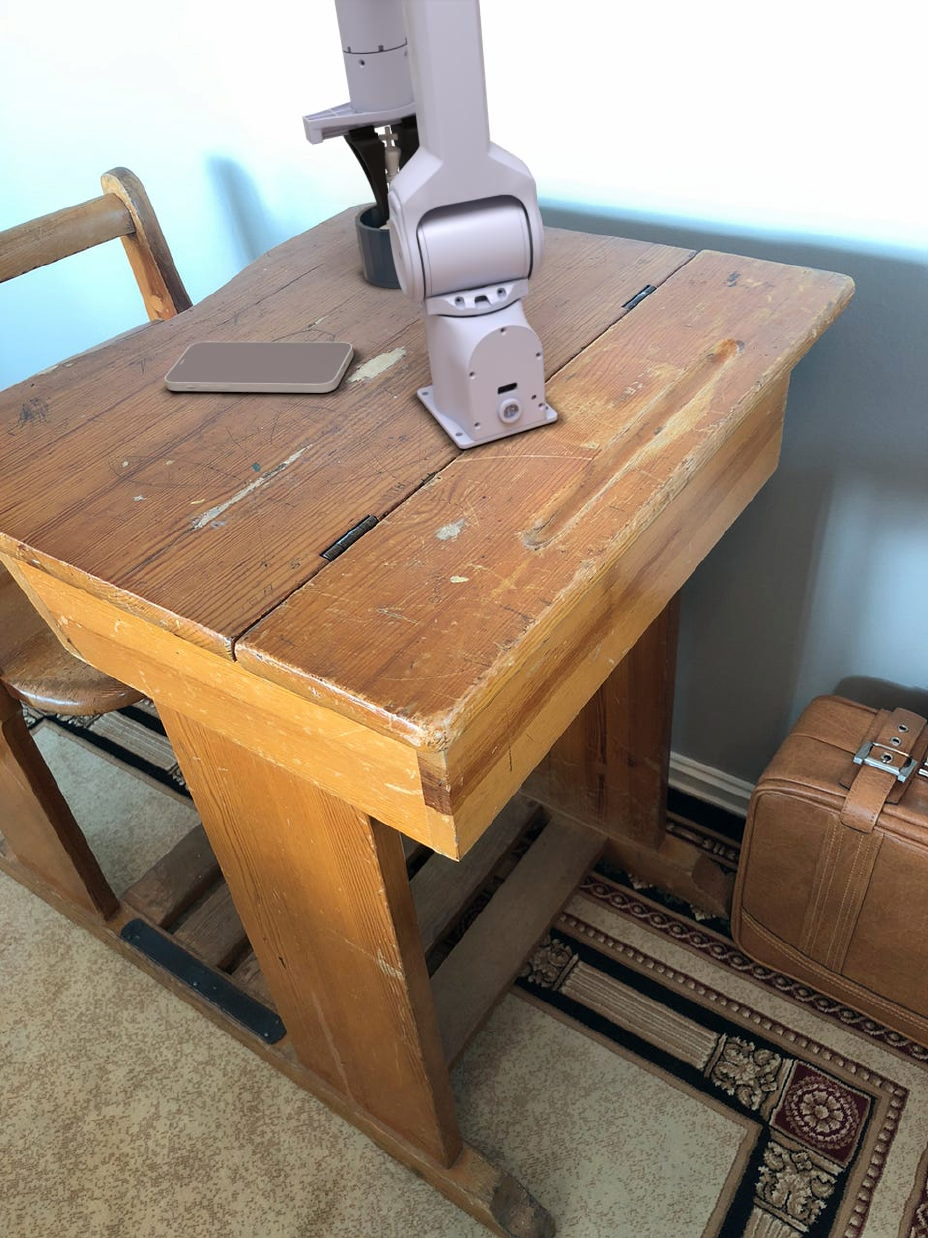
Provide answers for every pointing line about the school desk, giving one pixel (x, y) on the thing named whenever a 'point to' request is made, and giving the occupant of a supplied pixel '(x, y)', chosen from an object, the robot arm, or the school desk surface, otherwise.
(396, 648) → the school desk surface
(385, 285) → the pen holder
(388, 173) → the chess piece
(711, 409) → the school desk surface
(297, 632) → the school desk surface
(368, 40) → the robot arm
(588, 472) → the school desk surface
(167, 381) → the smartphone
